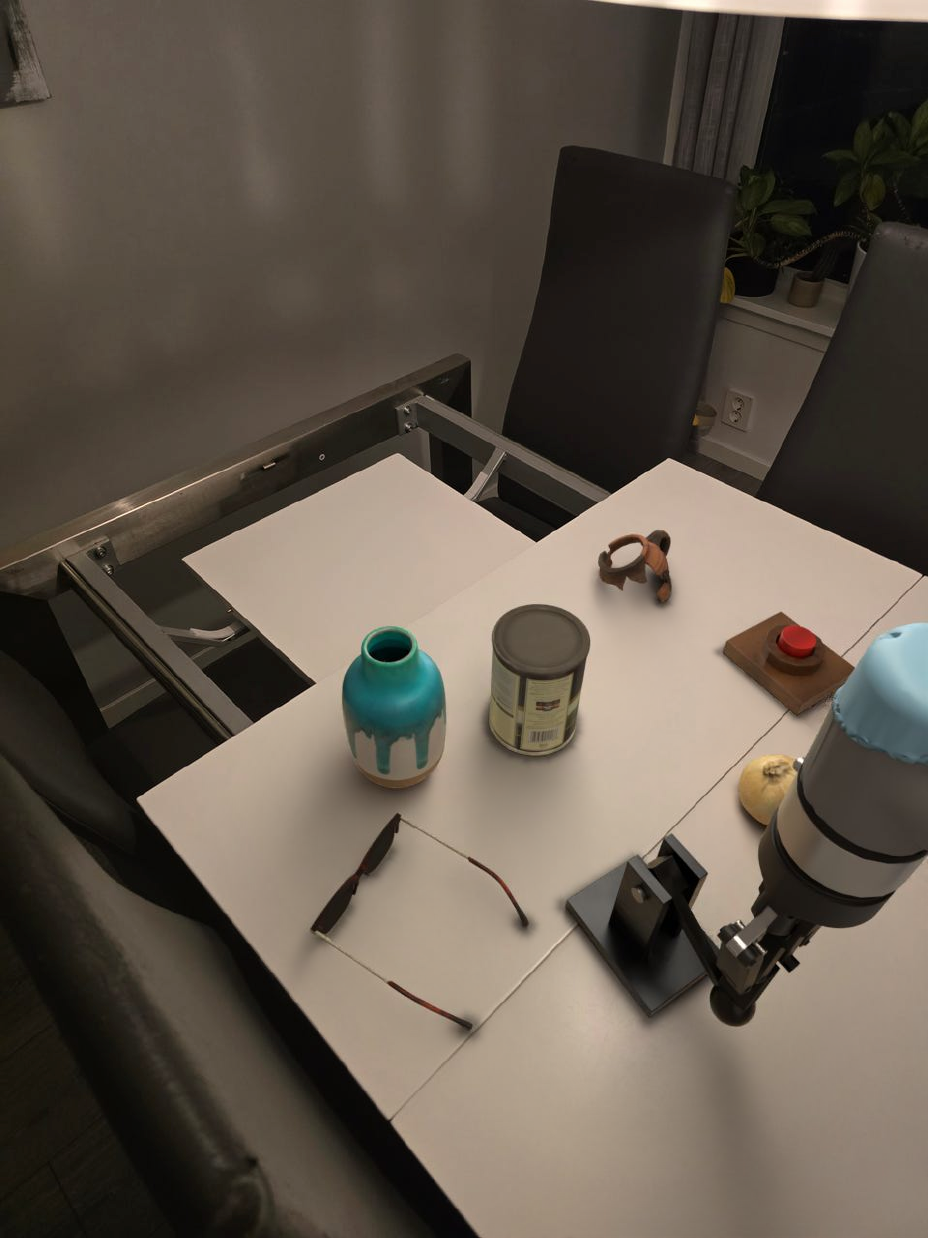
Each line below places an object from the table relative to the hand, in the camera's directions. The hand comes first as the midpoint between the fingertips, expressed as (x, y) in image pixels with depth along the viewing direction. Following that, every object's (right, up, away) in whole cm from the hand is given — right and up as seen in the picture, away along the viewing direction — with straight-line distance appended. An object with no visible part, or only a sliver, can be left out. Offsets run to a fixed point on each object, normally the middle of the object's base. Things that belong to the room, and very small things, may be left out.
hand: (737, 991), depth 63 cm
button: (+18, +26, +33) cm, 46 cm away
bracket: (-5, 0, +11) cm, 12 cm away
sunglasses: (-25, 0, +11) cm, 28 cm away
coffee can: (-14, +18, +29) cm, 37 cm away
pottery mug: (+2, +35, +47) cm, 58 cm away
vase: (-29, +14, +25) cm, 41 cm away
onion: (+11, +10, +21) cm, 26 cm away
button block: (+18, +24, +35) cm, 46 cm away
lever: (-3, +2, +4) cm, 5 cm away
